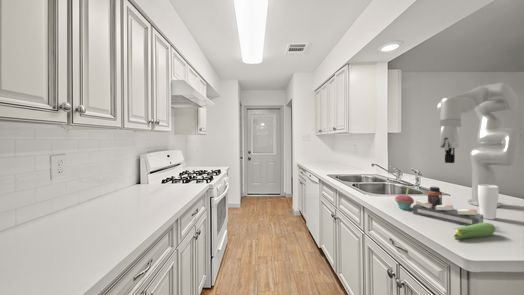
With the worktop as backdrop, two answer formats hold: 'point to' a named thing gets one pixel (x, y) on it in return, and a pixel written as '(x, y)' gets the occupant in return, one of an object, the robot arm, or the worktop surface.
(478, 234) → the edible corn
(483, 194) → the drinking glass
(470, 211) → the block
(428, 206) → the rocker
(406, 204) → the cupcake
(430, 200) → the supplement bottle
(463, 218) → the rocker switch panel
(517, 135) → the robot arm
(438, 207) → the plate
